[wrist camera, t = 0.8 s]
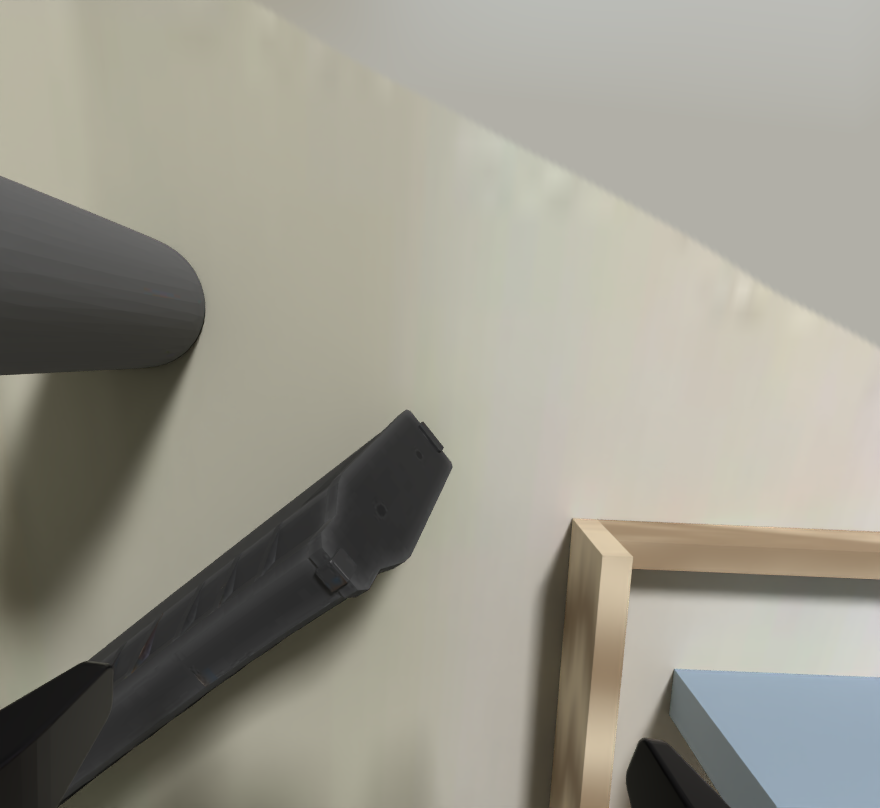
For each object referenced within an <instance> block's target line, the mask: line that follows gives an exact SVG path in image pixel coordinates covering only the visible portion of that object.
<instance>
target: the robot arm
mask: <svg viewBox="0 0 880 808" xmlns="http://www.w3.org/2000/svg"><path fill="white" fill-rule="evenodd" d="M113 676H114V671H113V667H112V665H111V664H108V663H101V662H94V661H85V662H82V663H80V664H78V665H76V666H74V667H73V668H71V669H69V670H68V671H66V672H64V673H62V674H61V675H59V676H57V677H56V678H54V679H52V680H51V681H49V682H47V683H45V684H44V685H42V686H40V687H39V688H37V689H35V690H34V691H32V692H30V693H28V694H27V695H25V696H23V697H22V698H20V699H18V700H17V701H15V702H13V703H11V704H10V705H8V706H6V707H5V708H3V709H1V710H0V808H57V806H58V805H59V803H60V801H61V799H62V798H63V796H64V794H65V792H66V791H67V789H68V787H69V785H70V784H71V782H72V780H73V778H74V777H75V775H76V773H77V771H78V770H79V768H80V766H81V764H82V763H83V761H84V759H85V757H86V756H87V754H88V752H89V750H90V749H91V747H92V745H93V743H94V742H95V740H96V738H97V736H98V735H99V733H100V731H101V729H102V728H103V726H104V724H105V722H106V720H107V718H108V716H109V714H110V711H111V708H112V702H113ZM626 785H627V791H628V795H629V799H630V803H631V808H731V807H730V806H729V805H728V804H727V803H726V802H725V801H724V800H723V799H722V798H721V797H720V796H719V795H718V794H717V793H716V792H715V791H714V790H713V789H712V788H711V787H710V786H709V785H708V784H707V783H706V782H705V781H704V780H703V779H702V778H701V777H700V776H699V775H698V774H697V772H696V771H695V770H694V769H693V768H692V767H691V766H690V765H689V764H688V763H687V762H686V761H685V760H684V759H683V758H682V757H681V756H680V755H679V754H678V753H677V752H676V751H675V750H674V749H673V748H672V747H671V746H670V745H669V744H668V743H666V742H665V741H662V740H657V739H650V738H642V739H641V740H640V741H639V742H638V744H637V747H636V749H635V752H634V754H633V757H632V759H631V762H630V764H629V767H628V769H627V774H626Z"/></svg>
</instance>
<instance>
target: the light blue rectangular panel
mask: <svg viewBox="0 0 880 808" xmlns="http://www.w3.org/2000/svg"><path fill="white" fill-rule="evenodd" d="M669 716H670V717H671V719H672V720H673V722H674V723H675V725H676V727H677V728H678V730H679V731H680V733H681V734H682V736H683V738H684V739H685V741H686V742H687V744H688V745H689V747H690V748H691V750H692V752H693V753H694V755H695V756H696V758H697V759H698V761H699V763H700V764H701V766H702V767H703V769H704V770H705V772H706V774H707V775H708V777H709V778H710V780H711V781H712V783H713V785H714V786H715V788H716V789H717V791H718V792H719V794H720V796H721V797H722V799H723V800H724V801H725V802H726V803H727V804H728V805H729V806H730V807H731V808H880V677H856V676H832V675H808V674H784V673H759V672H735V671H711V670H687V669H674V675H673V684H672V693H671V702H670V711H669Z"/></svg>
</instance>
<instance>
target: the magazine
mask: <svg viewBox="0 0 880 808" xmlns="http://www.w3.org/2000/svg"><path fill="white" fill-rule="evenodd" d="M443 448H444V447H443V446H442V445H441V443H440V442H439V441H438V439H437V438H436V437H435V436H434V434H433V433H432V432H431V431H430V429H429V428H428V427H427V426H426V424H425V423H424V422H421V423H419V421H418V420H417V419H416V418H415V416H414V415H413V414H412V413H411V411H409V410H405V411H404V412H402V413H401V414H400V415H399V416H397V417H396V418H395V419H394V420H393V421H392V422H391V423H390V424H389V425H388V426H387V427H386V428H385V429H384V430H383V431H382V432H381V433H379V434H378V435H377V436H375V437H374V438H373V439H371V440H370V441H369V442H368V443H366V444H365V445H364V446H362V447H361V448H360V449H358V450H357V451H356V452H355V453H353V454H352V455H351V456H349V457H348V458H347V459H346V460H344V461H343V462H342V463H340V464H339V465H338V466H336V467H335V468H334V469H333V470H331V471H330V472H329V473H327V474H326V475H325V476H323V477H322V478H321V479H320V480H318V481H317V482H316V483H314V484H313V485H312V486H311V487H309V488H308V489H307V490H305V491H304V492H303V493H301V494H300V495H299V496H298V497H296V498H295V499H294V500H292V501H291V502H290V503H288V504H287V505H286V506H285V507H283V508H282V509H281V510H279V511H278V512H277V513H276V514H274V515H273V516H272V517H270V518H269V519H268V520H267V521H265V522H264V523H263V524H261V525H260V526H259V527H258V528H256V529H255V530H254V531H252V532H251V533H250V534H249V535H247V536H246V537H245V538H243V539H242V540H241V541H240V542H238V543H237V544H236V545H234V546H233V547H232V548H231V549H229V550H228V551H227V552H225V553H224V554H223V555H222V556H220V557H219V558H218V559H216V560H215V561H214V562H213V563H211V564H210V565H209V566H207V567H206V568H205V569H204V570H202V571H201V572H200V573H199V574H197V575H196V576H195V577H193V578H192V579H191V580H190V581H188V582H187V583H186V584H184V585H183V586H182V587H181V588H179V589H178V590H177V591H176V592H174V593H173V594H172V595H170V596H169V597H168V598H167V599H165V600H164V601H163V602H162V603H160V604H159V605H158V606H156V607H155V608H154V609H153V610H151V611H150V612H149V613H148V614H146V615H145V616H144V617H143V618H141V619H140V620H139V621H137V622H136V623H135V624H134V625H132V626H131V627H130V628H129V629H127V630H126V631H125V632H124V633H122V634H121V635H120V636H118V637H117V638H116V639H115V640H113V641H112V642H111V643H110V644H108V645H107V646H106V647H105V648H103V649H102V650H101V651H100V652H98V653H97V654H96V655H95V656H93V657H92V658H91V659H89V660H88V661H94V662H101V663H108V664H111V665H112V667H113V671H114V676H113V702H112V708H111V711H110V714H109V716H108V718H107V720H106V722H105V724H104V726H103V728H102V729H101V731H100V733H99V735H98V736H97V738H96V740H95V742H94V743H93V745H92V747H91V749H90V750H89V752H88V754H87V756H86V757H85V759H84V761H83V763H82V764H81V766H80V768H79V770H78V771H77V773H76V775H75V777H74V778H73V780H72V782H71V784H70V785H69V787H68V789H67V791H66V792H65V794H64V796H63V798H62V799H61V801H60V803H59V805H58V806H57V808H58V807H59V806H60V805H61V804H63V803H64V802H65V801H66V800H68V799H69V798H70V797H71V796H73V795H74V794H75V793H76V792H78V791H79V790H80V789H81V788H83V787H84V786H85V785H87V784H88V783H89V782H90V781H92V780H93V779H94V778H95V777H97V776H98V775H99V774H101V773H102V772H103V771H104V770H106V769H107V768H109V767H110V766H112V765H113V764H114V763H116V762H117V761H118V760H119V759H121V758H122V757H123V756H124V755H126V754H127V753H128V752H130V751H131V750H132V749H133V748H135V747H136V746H137V745H139V744H140V743H142V742H143V741H145V740H146V739H148V738H149V737H150V736H152V735H153V734H154V733H156V732H157V731H158V730H159V729H161V728H162V727H163V726H165V725H166V724H167V723H168V722H170V721H171V720H172V719H174V718H175V717H177V716H178V715H180V714H181V713H182V712H184V711H185V710H187V709H188V708H190V707H191V706H192V705H194V704H195V703H196V702H197V701H199V700H200V699H201V698H202V697H204V696H205V695H206V694H207V693H209V692H210V691H211V690H212V689H213V688H215V687H216V686H218V685H219V684H221V683H222V682H224V681H225V680H227V679H228V678H230V677H231V676H233V675H234V674H236V673H237V672H238V671H240V670H241V669H242V668H243V667H245V666H246V665H247V664H248V663H250V662H251V661H252V660H254V659H256V658H257V657H259V656H260V655H262V654H263V653H265V652H267V651H268V650H270V649H271V648H273V647H274V646H275V645H277V644H278V643H280V642H281V641H282V640H283V639H284V638H286V637H287V636H289V635H290V634H292V633H293V632H295V631H296V630H299V629H300V628H302V627H303V626H305V625H306V624H308V623H310V622H311V621H313V620H314V619H316V618H317V617H319V616H320V615H322V614H323V613H325V612H326V611H328V610H330V609H331V608H333V607H334V606H336V605H338V604H339V603H341V602H342V601H344V600H346V599H347V598H351V597H357V596H359V595H360V594H362V593H364V592H365V591H367V590H369V588H370V587H371V585H372V583H373V581H374V579H375V578H376V576H377V575H378V574H379V573H381V572H384V571H388V570H391V569H393V568H395V567H397V566H398V565H400V564H402V563H403V562H405V561H406V560H407V559H408V558H409V557H410V556H411V554H412V552H413V550H414V548H415V546H416V544H417V542H418V539H419V537H420V535H421V533H422V531H423V529H424V527H425V525H426V522H427V520H428V518H429V516H430V514H431V512H432V510H433V508H434V505H435V503H436V501H437V499H438V497H439V495H440V493H441V491H442V489H443V486H444V484H445V482H446V480H447V478H448V476H449V474H450V472H451V469H452V464H451V461H450V460H449V459H448V458H447V456H446V455H445V454H444V453H443V451H442V450H443Z"/></svg>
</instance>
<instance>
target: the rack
mask: <svg viewBox="0 0 880 808" xmlns="http://www.w3.org/2000/svg"><path fill="white" fill-rule="evenodd" d="M632 569H650V570H673V571H697V572H720V573H743V574H766V575H790V576H813V577H836V578H860V579H880V532H869V531H846V530H823V529H800V528H777V527H754V526H732V525H709V524H686V523H663V522H640V521H617V520H594V519H572V531H571V544H570V556H569V569H568V581H567V593H566V606H565V618H564V630H563V643H562V655H561V668H560V680H559V692H558V705H557V717H556V729H555V742H554V754H553V767H552V779H551V791H550V804H549V808H609V801H610V790H611V780H612V770H613V759H614V749H615V739H616V728H617V718H618V708H619V697H620V687H621V677H622V666H623V656H624V646H625V635H626V625H627V615H628V605H629V594H630V584H631V574H632Z"/></svg>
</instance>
